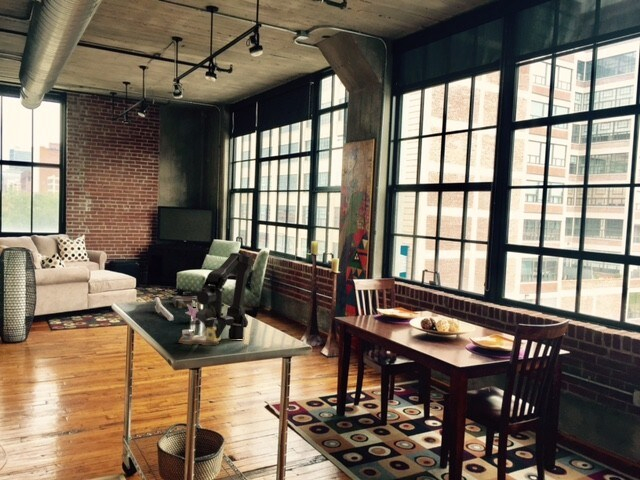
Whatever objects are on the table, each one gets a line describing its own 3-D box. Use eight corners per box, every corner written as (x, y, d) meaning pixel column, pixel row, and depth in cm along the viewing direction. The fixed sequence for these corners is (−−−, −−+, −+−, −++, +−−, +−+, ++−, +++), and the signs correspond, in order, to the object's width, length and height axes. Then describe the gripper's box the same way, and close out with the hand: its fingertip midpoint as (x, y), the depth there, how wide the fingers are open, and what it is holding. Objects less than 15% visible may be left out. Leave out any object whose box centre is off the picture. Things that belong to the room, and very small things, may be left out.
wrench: (169, 326, 284) (153, 309, 309) (172, 326, 285) (156, 309, 310) (170, 311, 283) (154, 296, 308) (174, 311, 284) (157, 295, 309)
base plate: (220, 339, 250) (221, 327, 250) (216, 345, 239) (217, 333, 239) (183, 337, 250) (184, 326, 249) (178, 343, 239) (178, 331, 238)
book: (196, 303, 342) (197, 295, 342) (201, 310, 318) (202, 302, 318) (172, 303, 337) (173, 295, 337) (176, 311, 313) (176, 302, 313)
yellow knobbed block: (212, 337, 237) (213, 326, 237) (220, 340, 234) (221, 328, 234) (205, 339, 234) (206, 327, 234) (213, 341, 231) (214, 329, 231)
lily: (207, 327, 278) (211, 310, 283) (187, 320, 272) (192, 302, 276) (195, 330, 287) (200, 313, 291) (176, 323, 281) (181, 305, 285)
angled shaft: (192, 337, 246) (192, 328, 245) (194, 338, 243) (195, 330, 243) (181, 338, 243) (181, 329, 243) (183, 339, 240) (184, 330, 240)
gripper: (186, 300, 232) (184, 335, 233) (215, 306, 221) (213, 344, 222) (206, 297, 241) (204, 332, 242) (235, 304, 230) (233, 340, 231)
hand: (213, 337), depth 234 cm, fingers closed on yellow knobbed block, 5 cm apart
